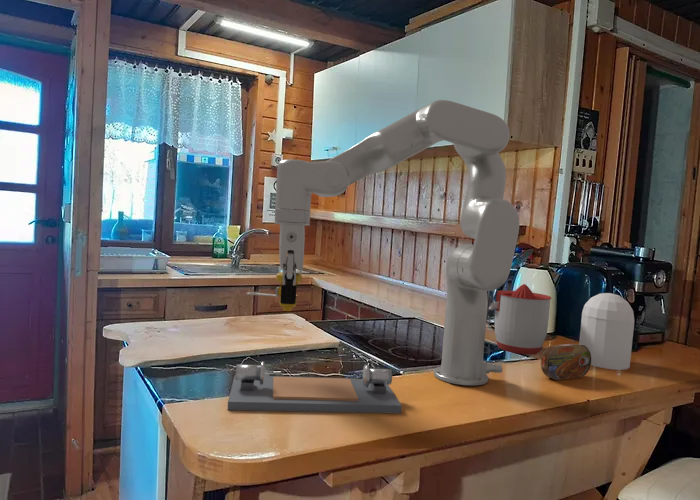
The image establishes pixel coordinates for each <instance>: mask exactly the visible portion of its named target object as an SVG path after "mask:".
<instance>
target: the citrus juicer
mask: <svg viewBox="0 0 700 500" xmlns="http://www.w3.org/2000/svg"><path fill="white" fill-rule="evenodd" d="M495 298H496V299H495V301H493V302H491V303H490V305H489V307H488V310H494V311H495V313H494V334H495V338H496V339H495V341H496V344H497V347H498V349H500V350H503V351H505V352H508V353H513V354H517V355H527V356H528V355H532V356H533V355H538V354H540V352H541V350H542V349H543V345H544V342H545V340H546V337H547V334H548V328H549V319H550V311H551V310H550V308H551V300H552V299H553V298H552V296H549V295H546V294H541V293H537V292H533V291H532V290H531V288H530V287H529V286H528V285H527V284H525V283H523V284H522V285H520V286H519V287H518V288H516V289H515V290H505V289H504V290H497V291H496V297H495Z"/></svg>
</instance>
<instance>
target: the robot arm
mask: <svg viewBox="0 0 700 500" xmlns="http://www.w3.org/2000/svg"><path fill="white" fill-rule="evenodd" d="M510 137H511V131H510V128H509V126H508V124H507V123H506V121H505V120H504V119H503V118H501V116H499V115H496V114H494V113H490V112H487V111H485V110H480V109H478V108H475V107H471V106H469V105H465V104H462V103H458V102H455V101H452V100H447V99H437V100H435V101H433V102H430V103H428V104H427V105H424V106H422V107H421V108H418V109H416V110H415V111H413V112H411V113H408V115H405V116H404V117H401V118H400V119H398V120H396V121H394V122H393V123H391V124H389V125H387V126H385V127H383V128H381V129H379V130H377V131H375V132H373V133H372V134H370V135H368V136H366V137H365V138H364V139H363V140H361V141H359V142H358V143H357V144H355V145H353V146H352V147H350V148H349V149H348V148H347V149H346V150H345V151H343V152H341V153H339V154H337V155H336V156H333V157H332V158H329V159H328V160H326V161H325V160H324V161H307V160H303V159H302V160H301V159H291V158H289V159H288V158H287V159H282V160H280V161H279V162H278V164H277V168H276V169H277V170H276V187H275V205H274V206H275V208H274V224H276V225H279V240H278V241H279V242H278V244H279V245H278V247H279V248H278V249H279V250H278V252H279V253H278V255H279V256H278V258H279V268H280V271H282V272H283V285H281V284H280V287H281V301H280V302H281V304H295V303H296V304H297V302H296V301H297V288H298V287H297V285H298V284H297V285H296V273H297V270H299V272H303V271H304V258H305V242H306V241H305V240H306V239H305V234H306V232H305V227H306V226H311V225H310V222H311V221H310V220H311V207H312V205H311V204H312V194H315V195H317V196H318V197H322V198H332V197H337V196H340V195H341V194H343V193H345V191H346V190H347V189H349V186H350V185H353V184H354V183H356V182H359V181H360V180H363V179H365V178H366V177H369V176H372V175H374V174H377V173H381V172H384V171H388V170H389V169H391V168H394V167H395V166H397V165H399V164H400V163H402V162H404V161H406V160H408V159H409V158H412V157H413V156H415V155H417V154H419V153H421V152H422V151H424V150H426V149H428V148H430V147H431V146H433V145H435V144H437V143H439V142H443V141H445V142H448V143H452V144H453V147H454V149H455V151H456V152H457V154H458V155H459V156H460V157H461V159H462V160H463V162H464V163H465V166H466V168H467V171H468V177H467V179H468V180H467V188H466V191H465V196H464V201H463V206H462V210H461V215H460V229H461V231H462V232H463V234H465V236H467V237H468V238H471V239H474V241H473V242H474V243H473V244H462V245H459V246H457V247H455V248H454V249H453V250H452V251H451V252H450V254H449V255H448V257H447V259H446V266H445V277H446V302H445V303H446V304H445V316H444V328H443V339H442V349H441V350H442V353H441V364H440V366H438V367H435V368H434V370H433V376H434V377H435V378H437V379H439V380H440V381H444V382H446V383H450V384H452V385H453V384H454V385H460V386H469V387H470V386H481V385H485V384H487V383H488V381H489V375H490V373H497V374H501V373H502V372H503V365H502V364H499V363H498V364H496V363H495V364H494V362H487V361H486V360H484V350H485V340H486V339H485V338H486V329H487V316H488V310H489V307H488V304H489V301H488V292H490V291H491V292H492V291H496V290H498V289H499V288H501V287H502V286H503V285H504V284H505V283H506V282H507V279H508V277H509V275H510V272H511V269H512V265H513V261H514V255H515V250H516V246H517V242H518V237H519V231H520V217H519V213H518V210H517V209H516V207H515V206H514V205H513V204H512V203H511V202H510V201H508V200H507V199H504V196H505V188H506V184H507V183H506V182H507V171H506V166H505V163H504V161H503V158H502V156H501V154H500V152H502V151H503V150H504V149H505V148H507V146H508V143H509V142H510ZM285 268H286V269H287V270H285ZM293 269H294V270H293ZM488 374H489V375H488Z"/></svg>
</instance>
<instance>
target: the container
mask: <svg viewBox="0 0 700 500" xmlns="http://www.w3.org/2000/svg"><path fill="white" fill-rule="evenodd" d="M580 323H581V324H580V331H579V340H578V341H579V343H578V344H579V345H584V346H586V347H587V348H588V349H589V351H590V354H591V365H590V366H593V367H596V368H601V369H607V370H618V371H619V370H620V371H621V370H622V371H623V370H627V369H630V366H631V358H632V350H633V349H632V347H633V339H634V338H633V337H634V329H635V315H634V310H633V308H632V307H631V305H630V303H629V302H628V301H627V300H626V299H625V298H623V297H622V296H620V295H618V294H615V293H611V292H602V293H601V292H600V293H598V294H596V295H594V296H592V297H590V298H589V299H588V301H586V302H585V304H584V305H583V308H582V312H581V321H580Z"/></svg>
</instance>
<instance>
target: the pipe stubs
mask: <svg viewBox="0 0 700 500" xmlns="http://www.w3.org/2000/svg"><path fill="white" fill-rule="evenodd" d="M260 363H261V364H236V367H235V375H236V377H235V380H241V390H240V391H253V388H254V381H260V385H263V379H264V376H265V361H261V362H260ZM362 368H363V369H362V379H363V386H364V387H366V388H367V387H368V385H369V384H371V390H372V391H373V393H374V394H386V386H385V384H388V385H389V386H390V385H392V382H393V372H392V368H389V369H388V368H370V366H369V365H368V364H364V365H363V367H362Z"/></svg>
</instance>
